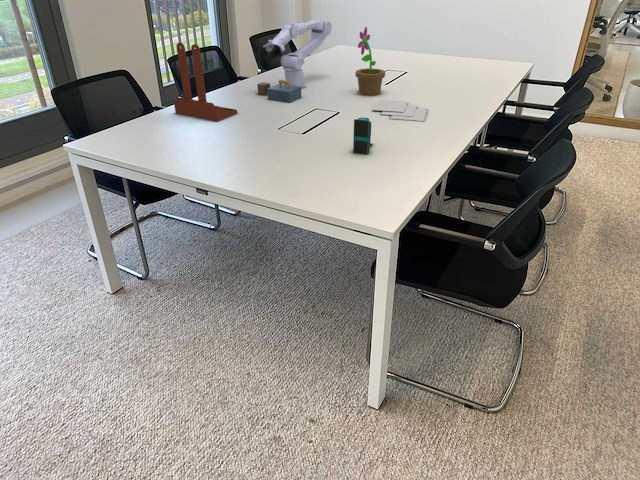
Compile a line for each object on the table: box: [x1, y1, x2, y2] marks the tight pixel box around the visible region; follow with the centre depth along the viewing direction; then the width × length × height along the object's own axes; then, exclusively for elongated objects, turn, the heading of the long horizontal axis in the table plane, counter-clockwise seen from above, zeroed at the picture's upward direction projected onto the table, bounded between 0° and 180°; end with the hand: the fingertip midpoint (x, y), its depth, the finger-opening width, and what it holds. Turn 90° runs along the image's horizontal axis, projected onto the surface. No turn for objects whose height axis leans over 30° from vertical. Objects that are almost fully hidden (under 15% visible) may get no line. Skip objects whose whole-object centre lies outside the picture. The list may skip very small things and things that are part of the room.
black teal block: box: [352, 116, 373, 155], centre depth 175 cm, size 6×12×10 cm
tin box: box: [267, 88, 302, 104], centre depth 236 cm, size 10×12×4 cm
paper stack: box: [371, 99, 428, 122], centre depth 217 cm, size 23×25×1 cm
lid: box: [267, 79, 303, 93], centre depth 234 cm, size 11×12×4 cm
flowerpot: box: [355, 26, 386, 97], centre depth 236 cm, size 14×14×30 cm
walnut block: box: [257, 81, 271, 96], centre depth 243 cm, size 4×4×5 cm
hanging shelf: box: [173, 42, 238, 123], centre depth 210 cm, size 24×13×30 cm, turn 59°
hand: (262, 58), depth 231 cm, fingers open, 7 cm apart
